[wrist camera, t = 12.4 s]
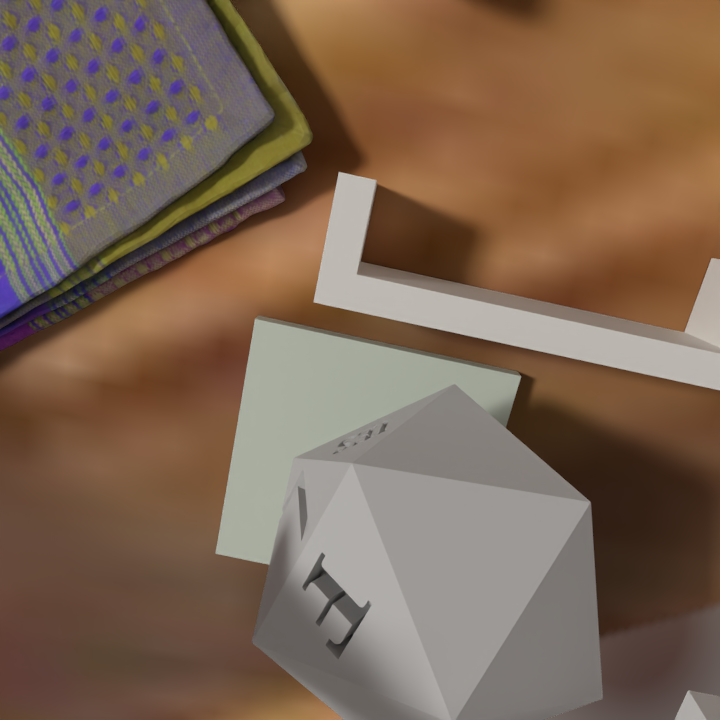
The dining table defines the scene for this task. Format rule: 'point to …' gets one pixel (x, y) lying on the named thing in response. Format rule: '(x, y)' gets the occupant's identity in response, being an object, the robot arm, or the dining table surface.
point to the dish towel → (128, 144)
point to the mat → (325, 412)
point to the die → (434, 573)
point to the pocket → (510, 306)
